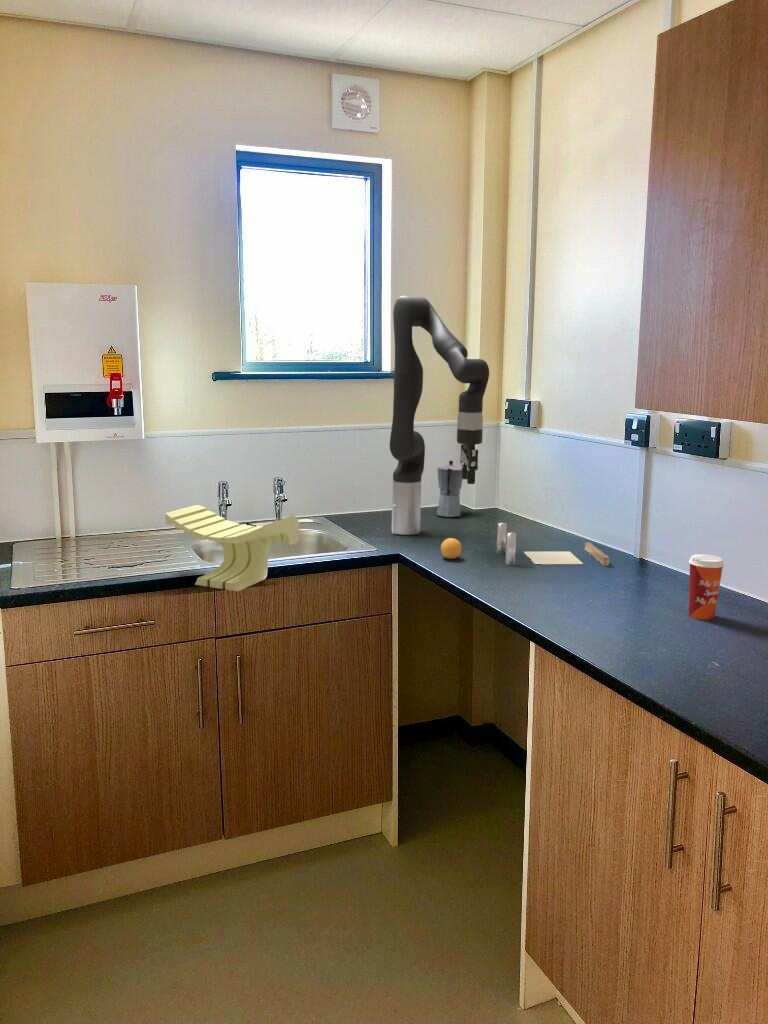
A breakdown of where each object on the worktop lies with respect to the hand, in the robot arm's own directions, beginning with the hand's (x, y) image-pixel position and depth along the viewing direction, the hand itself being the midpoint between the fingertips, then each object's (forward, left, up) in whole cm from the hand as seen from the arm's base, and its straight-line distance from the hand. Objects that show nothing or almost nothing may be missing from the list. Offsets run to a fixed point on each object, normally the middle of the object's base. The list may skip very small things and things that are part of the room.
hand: (468, 481), depth 250 cm
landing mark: (+24, -12, -21) cm, 34 cm away
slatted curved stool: (-66, -33, -21) cm, 77 cm away
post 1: (+10, -6, -21) cm, 23 cm away
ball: (-6, -12, -18) cm, 22 cm away
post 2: (+10, -19, -21) cm, 30 cm away
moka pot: (+2, +48, -21) cm, 52 cm away
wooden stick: (+37, -12, -21) cm, 44 cm away
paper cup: (+45, -65, -21) cm, 82 cm away
